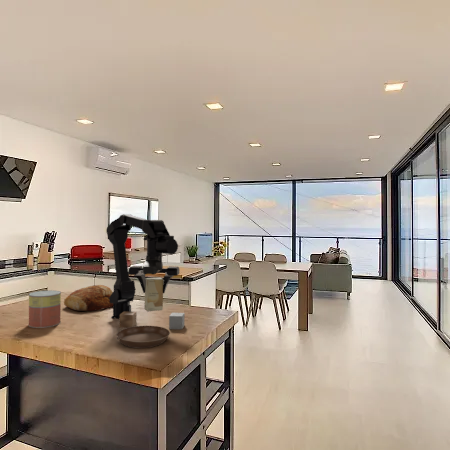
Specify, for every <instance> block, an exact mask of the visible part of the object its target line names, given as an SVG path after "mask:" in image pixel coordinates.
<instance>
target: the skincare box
mask: <svg viewBox="0 0 450 450" xmlns="http://www.w3.org/2000/svg"><path fill="white" fill-rule="evenodd" d="M163 284H164V278H162V277H145V293H144V304H143V305H144V311H146V312H147V313H148V312H159V311H160V312H161V311H163V310H164V309H163V307H164V306H163V305H164V304H163V303H164V293H163Z"/></svg>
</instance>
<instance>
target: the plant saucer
mask: <svg viewBox="0 0 450 450" xmlns="http://www.w3.org/2000/svg"><path fill="white" fill-rule="evenodd" d="M170 332H171V331H170V329H169V328H165V327H163V326H157V325H135V326H134V327H129V328H121V329H120V330H118V332H116V334H115V335H116V337H117V340H119V342H120V343H121V344H122V345H124V346H126V347H129V348H134V349H145V348H153V347H156V346H159V345H161V344H163V343H164V342H165V341H166V340H167V339H168V337H169V336H170V335H171V333H170Z"/></svg>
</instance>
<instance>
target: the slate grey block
mask: <svg viewBox="0 0 450 450" xmlns="http://www.w3.org/2000/svg"><path fill="white" fill-rule="evenodd" d="M185 318H186V317H185V312H171V313H170V314H169V316H168V330H183V328H184V327H185Z"/></svg>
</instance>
